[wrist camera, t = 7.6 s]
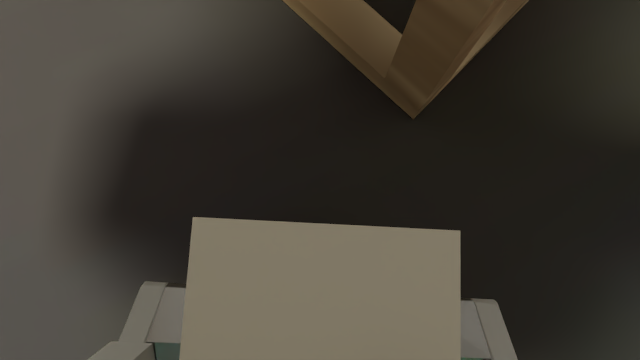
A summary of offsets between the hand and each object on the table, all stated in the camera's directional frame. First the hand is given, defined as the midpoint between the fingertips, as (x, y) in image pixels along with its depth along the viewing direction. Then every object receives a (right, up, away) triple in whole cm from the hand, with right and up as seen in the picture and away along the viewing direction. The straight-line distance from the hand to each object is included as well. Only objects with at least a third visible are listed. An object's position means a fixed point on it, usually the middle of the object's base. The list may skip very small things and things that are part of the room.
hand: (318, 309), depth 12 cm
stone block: (0, -2, +5) cm, 5 cm away
